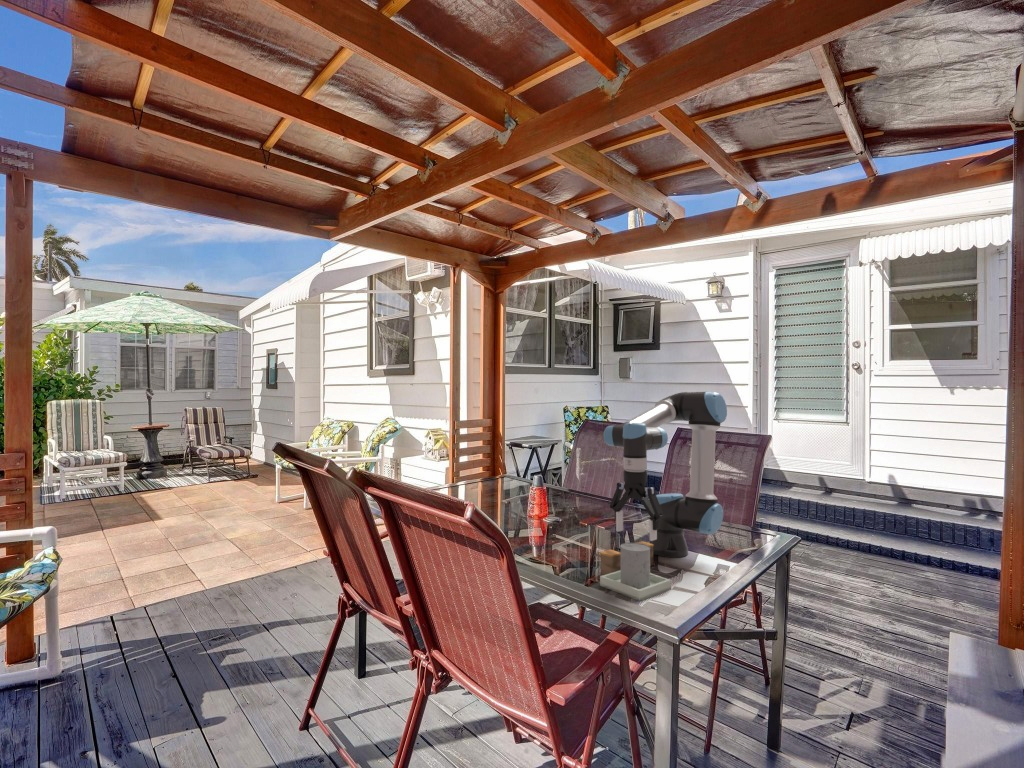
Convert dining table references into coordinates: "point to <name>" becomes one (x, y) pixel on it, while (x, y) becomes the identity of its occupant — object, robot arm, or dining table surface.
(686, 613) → the dining table surface
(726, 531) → the dining table surface
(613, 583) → the tray
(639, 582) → the grey cylinder
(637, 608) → the dining table surface
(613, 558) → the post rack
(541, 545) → the dining table surface
